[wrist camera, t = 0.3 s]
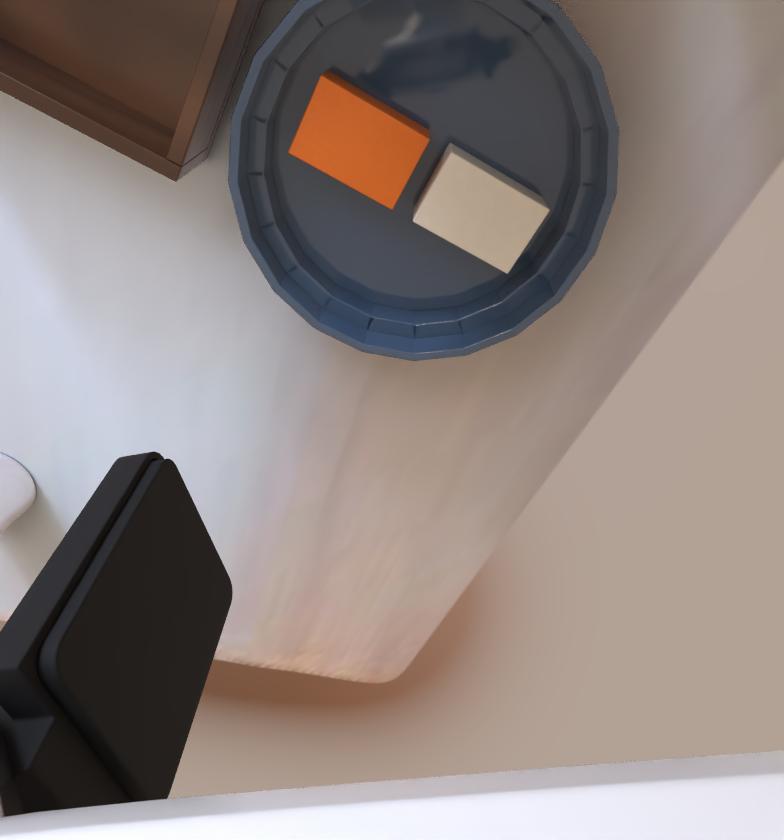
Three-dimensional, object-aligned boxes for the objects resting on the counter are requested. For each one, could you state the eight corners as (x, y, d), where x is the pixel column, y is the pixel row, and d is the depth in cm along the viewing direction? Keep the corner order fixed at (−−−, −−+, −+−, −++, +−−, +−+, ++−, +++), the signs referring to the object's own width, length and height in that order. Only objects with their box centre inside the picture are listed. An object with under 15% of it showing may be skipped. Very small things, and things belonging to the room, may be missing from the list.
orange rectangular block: (327, 69, 34) (320, 74, 32) (430, 130, 35) (430, 139, 33) (295, 143, 36) (287, 152, 34) (394, 198, 37) (392, 210, 35)
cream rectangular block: (449, 142, 35) (451, 151, 33) (543, 197, 37) (550, 210, 35) (413, 208, 37) (412, 221, 35) (503, 259, 39) (507, 274, 37)
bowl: (341, -132, 30) (329, -149, 26) (674, 91, 34) (704, 103, 30) (201, 235, 39) (177, 261, 36) (476, 374, 44) (481, 410, 40)
